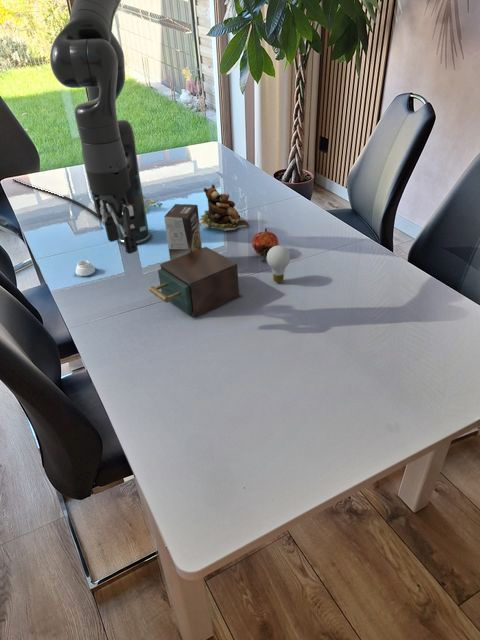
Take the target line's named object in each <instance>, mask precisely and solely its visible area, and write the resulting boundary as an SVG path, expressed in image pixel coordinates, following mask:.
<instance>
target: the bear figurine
mask: <svg viewBox="0 0 480 640" xmlns="http://www.w3.org/2000/svg"><path fill="white" fill-rule="evenodd" d="M203 192H204V193H205V197H206V199H207V206H208V210H203V211H204V214H202V215H200V218H199V224H201V225H200V226H202V227H204V229H208V228H212V229H217V230H221V231H224V232H226V231H236V230H237V229H239V228H243V227H244V228H245V227H249V226H250V224H249V222H248V221H247V220H246V219H244V218H242V217H241V215H240V214H239V212H238V210H237V209H236V208H235V206H236V203H235V202H234V200H230V199H229V198H230V193H227V194H226V193H220V192H218V190H217V189H216V185H215V184H213V183H212V184H211V187H208V188H206V187H204V188H203Z"/></svg>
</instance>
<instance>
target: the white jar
mask: <svg viewBox="0 0 480 640" xmlns="http://www.w3.org/2000/svg"><path fill="white" fill-rule="evenodd" d="M95 272H96V269H95V266H94V265H93V264H92V263H91V262H90V261H89V260H87V259H85V260H80V261H78V262H77V265H76V268H75V274H76V275H77V276H79V277H86V276H90V275H92V274H93V273H95Z"/></svg>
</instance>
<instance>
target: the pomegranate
mask: <svg viewBox="0 0 480 640" xmlns="http://www.w3.org/2000/svg"><path fill="white" fill-rule="evenodd" d="M267 229H268V228H266V227H265V228H264V231H261V232H260V231H259V232H257V233H256V234H255V235H254V236H253V237H252V241H251V246H252V248H253V250H254V251H255V253H256V254H257V255H263V261H265V259H266V255H267V253H268V251H269V250H270V249H271V248H272V247H274V246H280V245H279V239H278V236H277V235H276V234H275V233H274V232H271V231H269V230H267Z"/></svg>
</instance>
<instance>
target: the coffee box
mask: <svg viewBox="0 0 480 640" xmlns="http://www.w3.org/2000/svg"><path fill="white" fill-rule="evenodd" d="M198 207H199V206H198V204H192V203H183V204H181V203H175V204H174V205H173V206H172V207H171V208H170V210H169V211H167V212H166V214H165V215H164V216H163V218H164V219H163V220H164V225H165V234H166V239H167V240H166V241H167V249H168V255H169V261H170V260H172V259H175V258H178V257H180V256H183V255H185V254H188V253H191V252H193V251H196V250H198V249H201V248H203V246H202V236H201V225H200V223H199V220H200V218H199V217H200V216H199V208H198Z"/></svg>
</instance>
